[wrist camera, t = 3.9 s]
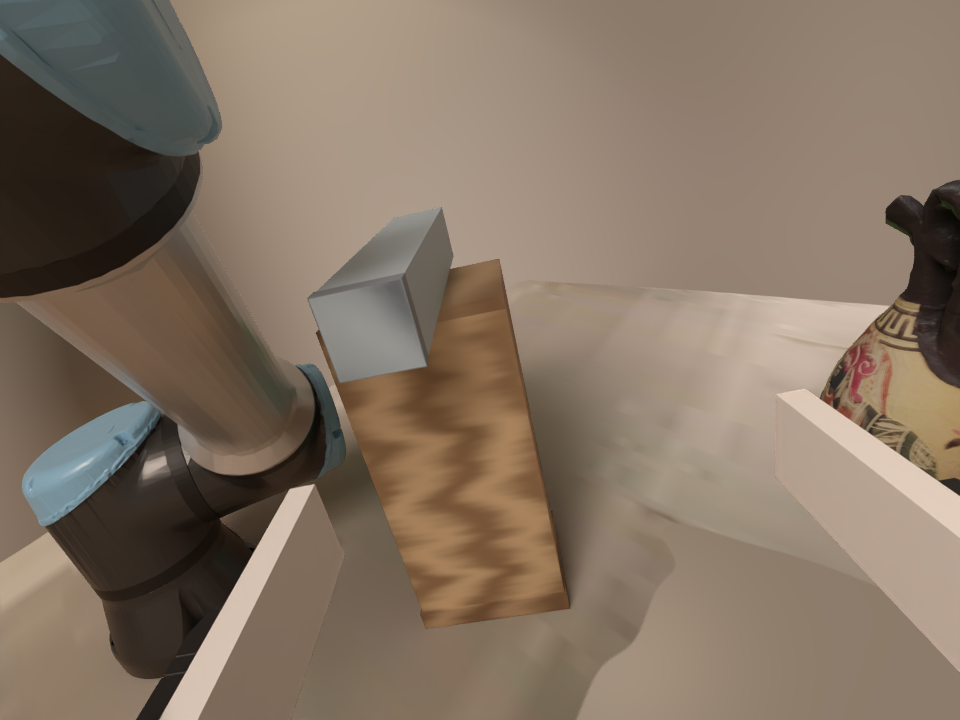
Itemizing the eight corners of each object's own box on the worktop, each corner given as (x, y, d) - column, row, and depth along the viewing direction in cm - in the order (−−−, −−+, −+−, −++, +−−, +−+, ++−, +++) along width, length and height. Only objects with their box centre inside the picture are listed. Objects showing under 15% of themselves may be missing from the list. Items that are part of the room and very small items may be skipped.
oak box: (425, 628, 46) (312, 334, 33) (435, 543, 55) (350, 289, 43) (569, 608, 44) (506, 294, 32) (554, 524, 54) (501, 257, 42)
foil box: (339, 383, 25) (307, 298, 23) (406, 266, 47) (393, 217, 45) (427, 366, 25) (401, 278, 23) (454, 256, 46) (442, 206, 44)
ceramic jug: (796, 445, 57) (812, 175, 45) (969, 447, 51) (1043, 137, 39) (842, 564, 43) (885, 215, 30) (1089, 584, 37) (1264, 165, 25)
